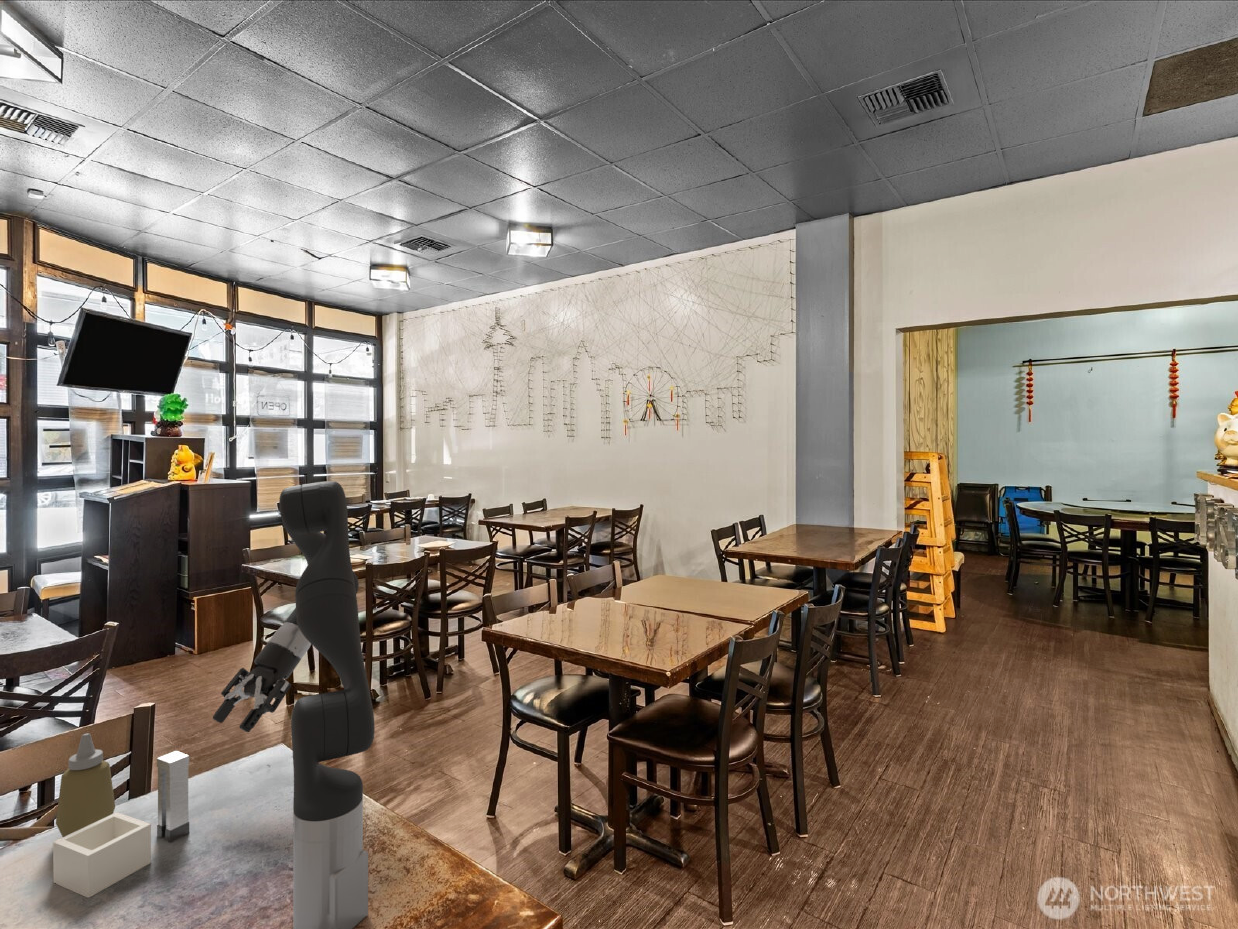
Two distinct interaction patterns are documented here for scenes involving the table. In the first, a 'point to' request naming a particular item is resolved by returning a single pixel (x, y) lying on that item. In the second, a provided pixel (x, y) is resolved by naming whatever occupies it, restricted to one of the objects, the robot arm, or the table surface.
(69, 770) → the squeeze bottle
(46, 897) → the table surface
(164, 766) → the grey arch block
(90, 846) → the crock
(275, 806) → the table surface
